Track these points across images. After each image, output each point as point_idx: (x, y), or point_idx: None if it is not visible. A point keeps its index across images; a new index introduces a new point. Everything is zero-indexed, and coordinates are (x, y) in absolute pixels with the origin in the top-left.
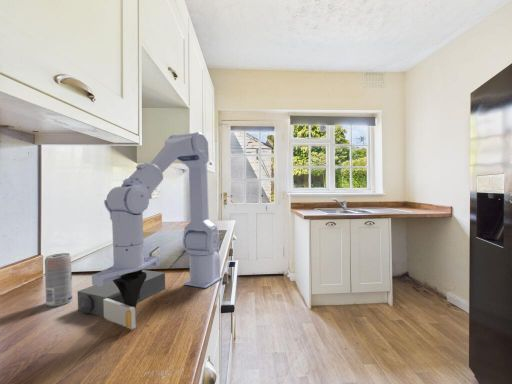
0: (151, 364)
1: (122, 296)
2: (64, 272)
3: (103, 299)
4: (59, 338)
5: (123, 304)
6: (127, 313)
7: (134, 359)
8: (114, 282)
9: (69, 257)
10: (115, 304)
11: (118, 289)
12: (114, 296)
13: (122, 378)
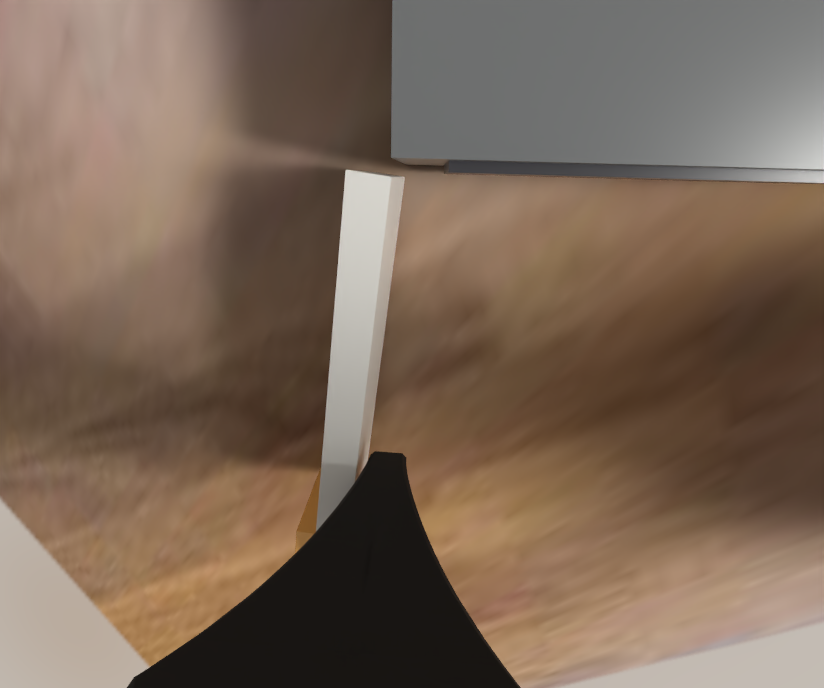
0: None
1: (330, 519)
2: None
3: (345, 172)
4: (66, 114)
5: (346, 474)
6: (298, 544)
7: (207, 611)
8: (171, 665)
9: None
10: (329, 393)
11: (675, 55)
12: (507, 162)
13: (128, 637)
